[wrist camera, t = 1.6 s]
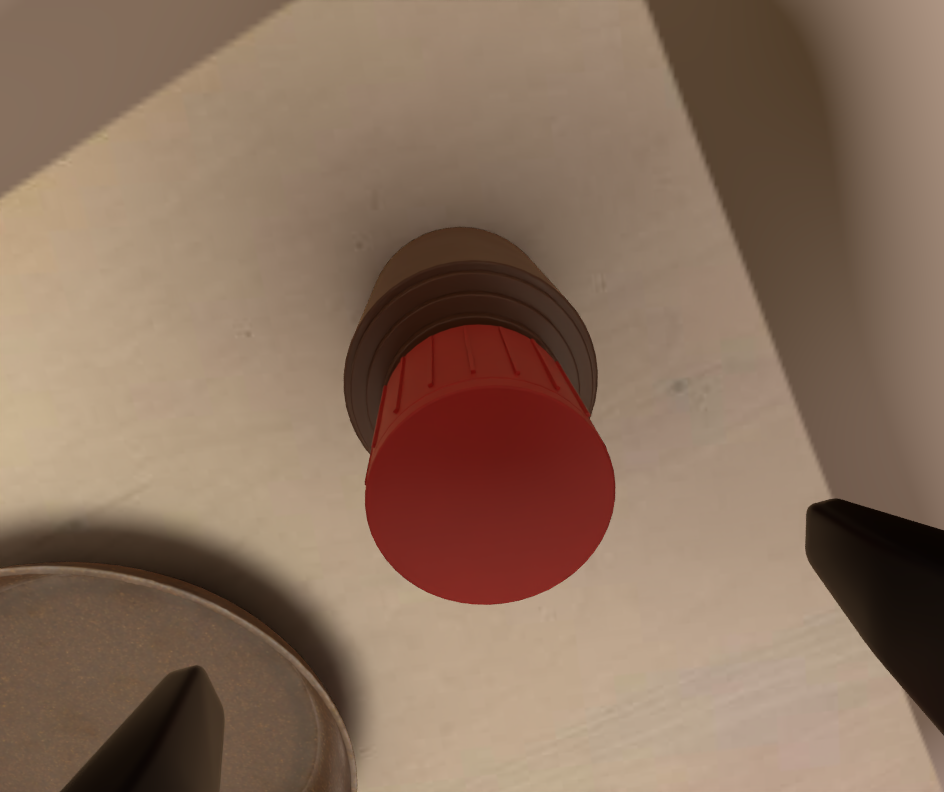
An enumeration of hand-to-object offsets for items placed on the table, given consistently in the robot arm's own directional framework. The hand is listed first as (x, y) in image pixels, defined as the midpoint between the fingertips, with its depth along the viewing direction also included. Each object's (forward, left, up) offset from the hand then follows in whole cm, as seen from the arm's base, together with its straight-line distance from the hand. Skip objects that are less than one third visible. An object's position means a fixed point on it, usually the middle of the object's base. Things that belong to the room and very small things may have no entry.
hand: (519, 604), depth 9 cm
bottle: (0, -1, -14) cm, 14 cm away
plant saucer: (+17, +15, -15) cm, 27 cm away
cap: (0, -1, -6) cm, 6 cm away
